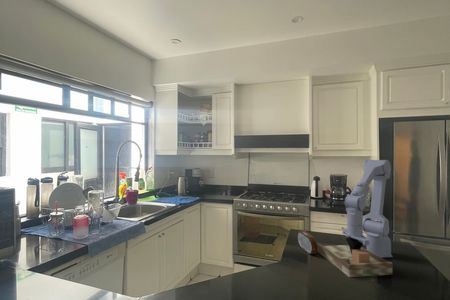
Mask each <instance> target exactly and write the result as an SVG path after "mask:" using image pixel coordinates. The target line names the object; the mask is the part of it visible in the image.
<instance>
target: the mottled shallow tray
mask: <svg viewBox="0 0 450 300" xmlns="http://www.w3.org/2000/svg"><path fill="white" fill-rule="evenodd" d="M316 243H317V253H319V255H321V256H322V257H323V258H324V259H326V260H327V261H329V262H330V263H331V264H332V265H334V266H335V267H336V268H337V269H339V270H340V271H341V272H343V273H344V274H345V276H347V277H348V278H353V277H354V278H356V277H357V278H358V277H371V276H372V277H373V276H386V275H387V276H388V275H390V276H391V275H393V262H392V261H388V260H386V259H384V258H383V257H379V256H377V255H375V254H373V253H372V252H370V251H368V250H367V248H364V247H363V246H362V247H361V249H363V250H364V251H366V252H368V253H369V254H370V263H355V262H353V261H352V254H351V250H350V247H349V244H343V245H341V244H339V245H338V244H336V245H322V244H321V243H318V242H316Z"/></svg>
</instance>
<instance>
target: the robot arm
mask: <svg viewBox="0 0 450 300" xmlns="http://www.w3.org/2000/svg"><path fill="white" fill-rule="evenodd" d="M362 166H363V167H362V168H363V174H362V177H361V179H360V181H359V182H356V184H355V186H354V187H353V189H352V191H350V194H348V195H346V196H345V198H344V207H345V212H346V214H347V217H346V218H347V219H346V221H347V222H346V223H347V227H346V228H342V234H343V235H345V237H346V238H345V240H346V242H347V245H349V247H350V250H351V254H352V250H354V249H361V247H363V245H364V246H366V250H368V251H370V252H372V253H373V254H375V255H377V256H379V257H381V258H393V255H392V241H391V238H390V237H389V236H388V235H389V233H390V221H389V219H388V218H386V216H385V215H383V212H384V205H385V203H384V202H385V192H386V184H387V180H388V179H390V177H391V171H392V166H391V163H390V161H389V160H388V159H365V161H363V165H362ZM372 181H373V183H372ZM371 183H372V184H373V187H372V193H371V201H370V202H371V204H370V212H369V213H367V214H365V215H364V216H363V213H364V212H363V211H364V209H365V208H366V206H367V205H366V204H367V196H368V194H369V192H370V191H371V187H370V184H371ZM363 233H364V234H365V235H366V236H365V235H364V234H363Z"/></svg>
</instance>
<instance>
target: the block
mask: <svg viewBox="0 0 450 300" xmlns="http://www.w3.org/2000/svg"><path fill="white" fill-rule="evenodd" d="M352 261H353V262H355V263H370V254H369V253H368V252H366V251H364V250H363V249H354V250H352Z"/></svg>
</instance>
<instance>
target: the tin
mask: <svg viewBox="0 0 450 300" xmlns="http://www.w3.org/2000/svg"><path fill="white" fill-rule="evenodd" d="M297 242H298V245H299V247H300V248H301V249H302V250H303V251H304V252H306V253H307V254H308V255H316V254H317V253H318V252H317V243H318V242H317V240H316V239H315V237H314V236H313V235H311V234H310V233H309V232H307V231H306V230H299V231H297Z"/></svg>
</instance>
